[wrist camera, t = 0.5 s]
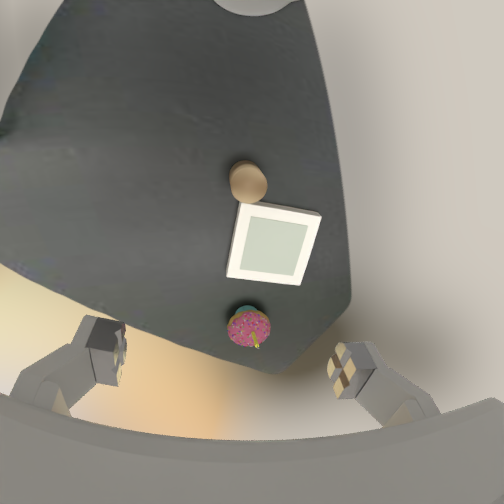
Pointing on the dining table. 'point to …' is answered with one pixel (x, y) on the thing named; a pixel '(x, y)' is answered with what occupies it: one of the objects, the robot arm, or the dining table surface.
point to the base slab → (271, 242)
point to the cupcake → (248, 326)
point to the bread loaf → (247, 182)
